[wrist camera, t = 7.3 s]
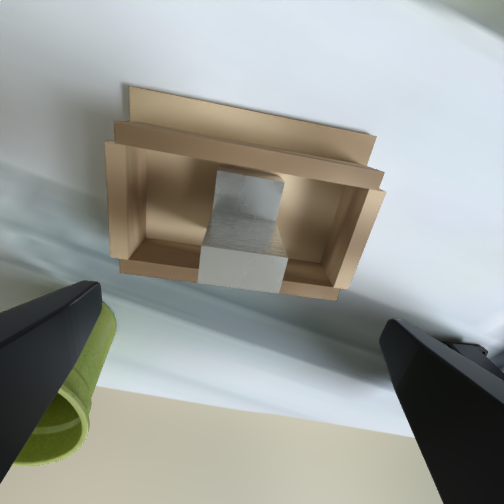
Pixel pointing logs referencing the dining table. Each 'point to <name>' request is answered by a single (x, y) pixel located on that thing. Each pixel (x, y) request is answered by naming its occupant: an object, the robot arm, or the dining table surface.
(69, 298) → the robot arm
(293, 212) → the light wood shallow box
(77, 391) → the plant pot
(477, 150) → the dining table surface
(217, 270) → the bracket
